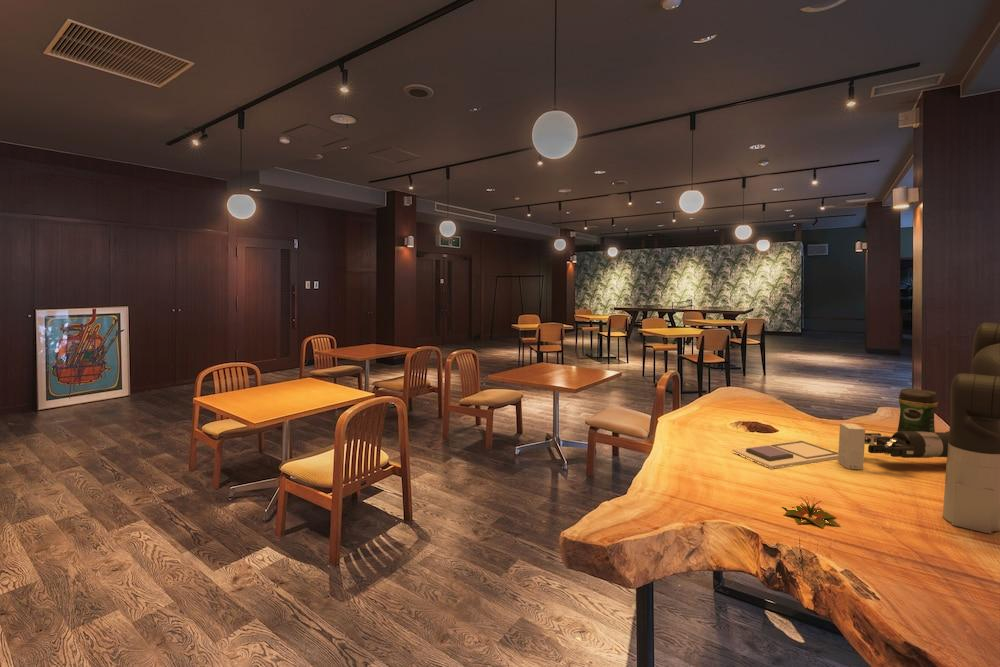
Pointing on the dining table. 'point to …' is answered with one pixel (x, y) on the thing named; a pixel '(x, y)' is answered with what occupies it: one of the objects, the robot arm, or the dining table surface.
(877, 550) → the dining table surface
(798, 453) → the board
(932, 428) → the coffee jar
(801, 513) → the green leafy piece
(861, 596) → the dining table surface
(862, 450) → the skincare box
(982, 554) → the dining table surface
